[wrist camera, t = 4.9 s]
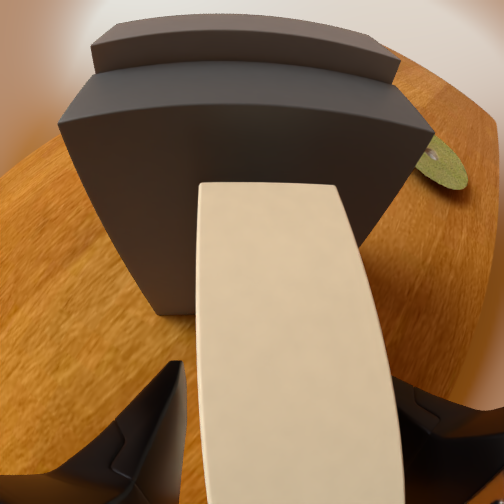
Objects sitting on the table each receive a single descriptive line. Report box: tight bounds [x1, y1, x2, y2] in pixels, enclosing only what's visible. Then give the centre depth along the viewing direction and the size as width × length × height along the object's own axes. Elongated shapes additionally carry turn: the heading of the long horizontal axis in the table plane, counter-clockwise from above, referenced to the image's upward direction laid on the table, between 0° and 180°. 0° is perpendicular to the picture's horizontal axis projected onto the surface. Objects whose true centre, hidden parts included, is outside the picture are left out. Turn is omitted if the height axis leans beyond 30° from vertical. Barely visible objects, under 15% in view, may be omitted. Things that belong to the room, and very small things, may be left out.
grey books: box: [58, 14, 435, 315], centre depth 13 cm, size 6×10×15 cm, turn 95°
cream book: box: [196, 182, 405, 504], centre depth 9 cm, size 8×3×13 cm, turn 5°
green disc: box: [415, 135, 468, 190], centre depth 28 cm, size 11×11×2 cm
